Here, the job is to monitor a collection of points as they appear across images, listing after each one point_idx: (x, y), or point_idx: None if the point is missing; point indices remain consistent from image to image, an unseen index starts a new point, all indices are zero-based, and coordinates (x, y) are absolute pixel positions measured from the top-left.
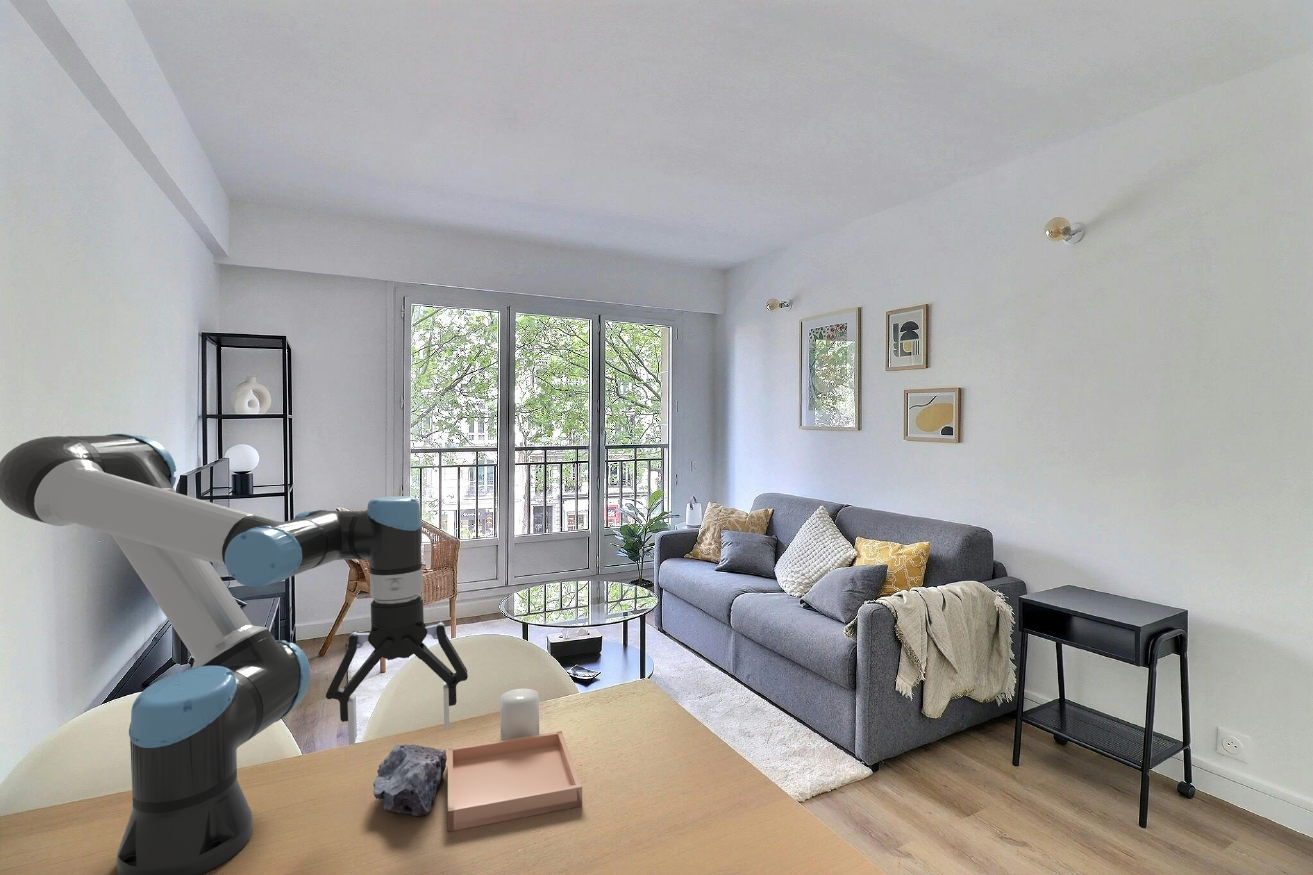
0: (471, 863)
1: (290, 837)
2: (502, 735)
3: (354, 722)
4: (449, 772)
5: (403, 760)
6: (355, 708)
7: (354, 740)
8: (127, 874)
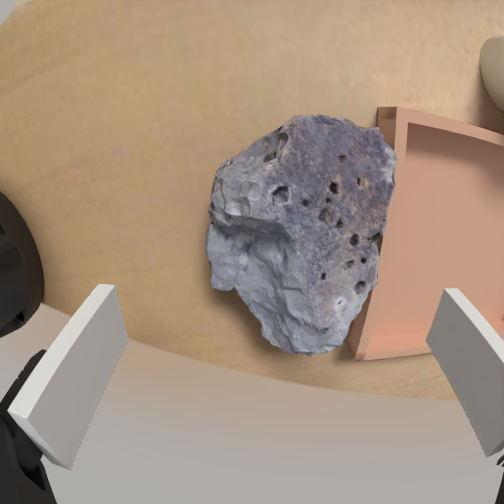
0: (357, 391)
1: (91, 274)
2: (494, 77)
3: (98, 378)
4: (386, 236)
5: (283, 245)
6: (65, 381)
7: (124, 342)
8: None
